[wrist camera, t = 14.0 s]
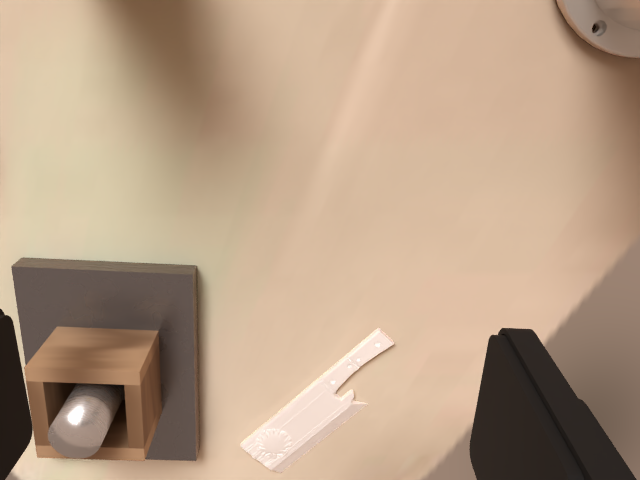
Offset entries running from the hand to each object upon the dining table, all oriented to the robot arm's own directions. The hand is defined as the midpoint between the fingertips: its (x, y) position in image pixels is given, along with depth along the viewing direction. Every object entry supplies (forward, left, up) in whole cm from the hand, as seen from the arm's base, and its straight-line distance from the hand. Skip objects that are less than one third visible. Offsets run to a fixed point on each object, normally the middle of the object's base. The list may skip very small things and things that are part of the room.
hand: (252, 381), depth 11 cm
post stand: (+12, +18, -27) cm, 35 cm away
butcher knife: (-4, +21, -28) cm, 35 cm away
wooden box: (+12, +18, -26) cm, 33 cm away
